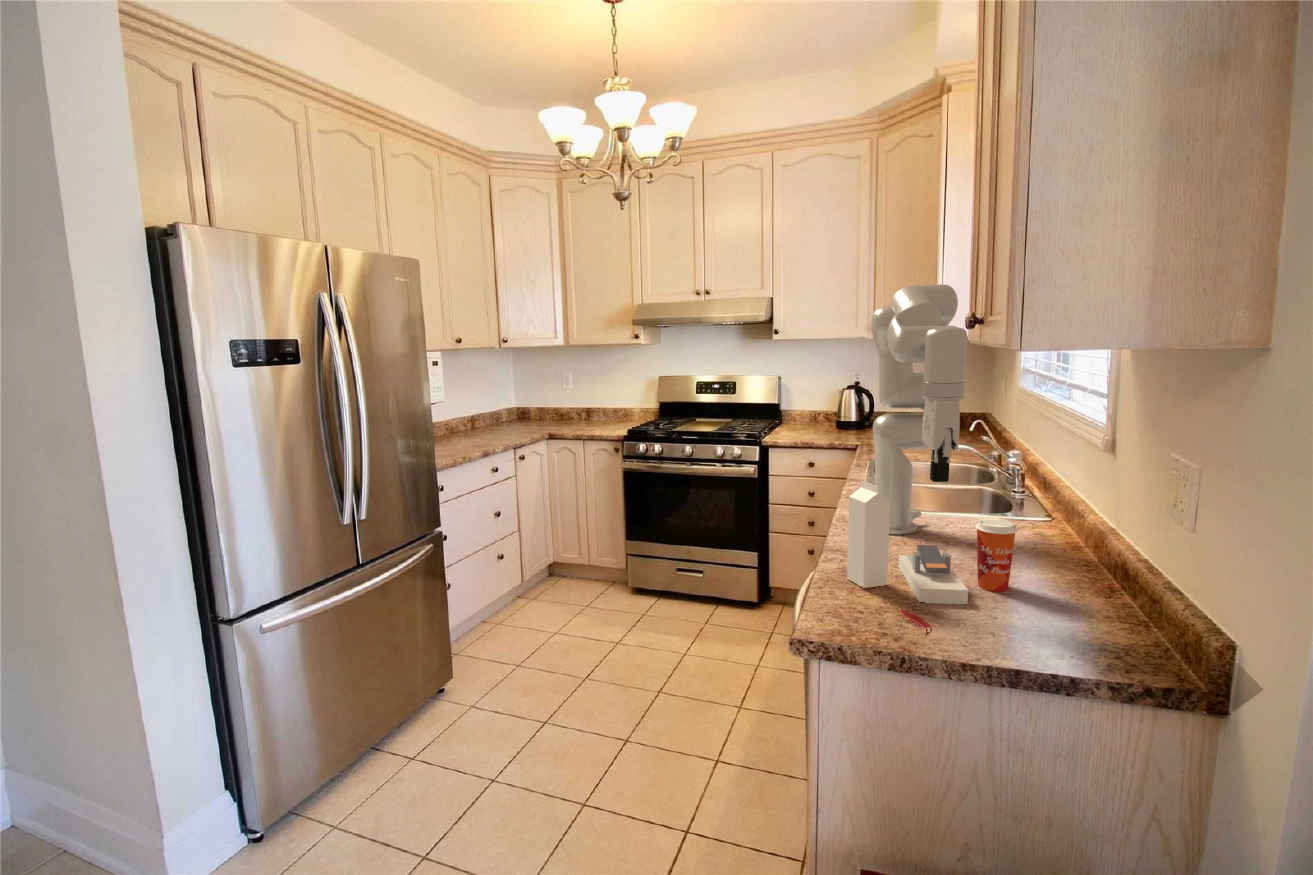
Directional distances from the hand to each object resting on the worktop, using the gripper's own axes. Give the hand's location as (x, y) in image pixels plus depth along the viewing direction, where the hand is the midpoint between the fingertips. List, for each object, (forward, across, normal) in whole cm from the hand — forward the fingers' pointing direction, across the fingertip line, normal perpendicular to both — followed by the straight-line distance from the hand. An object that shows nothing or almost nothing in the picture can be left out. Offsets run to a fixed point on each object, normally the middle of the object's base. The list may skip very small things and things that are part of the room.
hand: (939, 480), depth 132 cm
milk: (+24, -3, -13) cm, 27 cm away
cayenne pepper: (+24, +16, -7) cm, 30 cm away
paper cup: (+24, -3, +12) cm, 27 cm away
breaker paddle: (+18, -3, 0) cm, 18 cm away
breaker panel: (+24, -3, 0) cm, 24 cm away
